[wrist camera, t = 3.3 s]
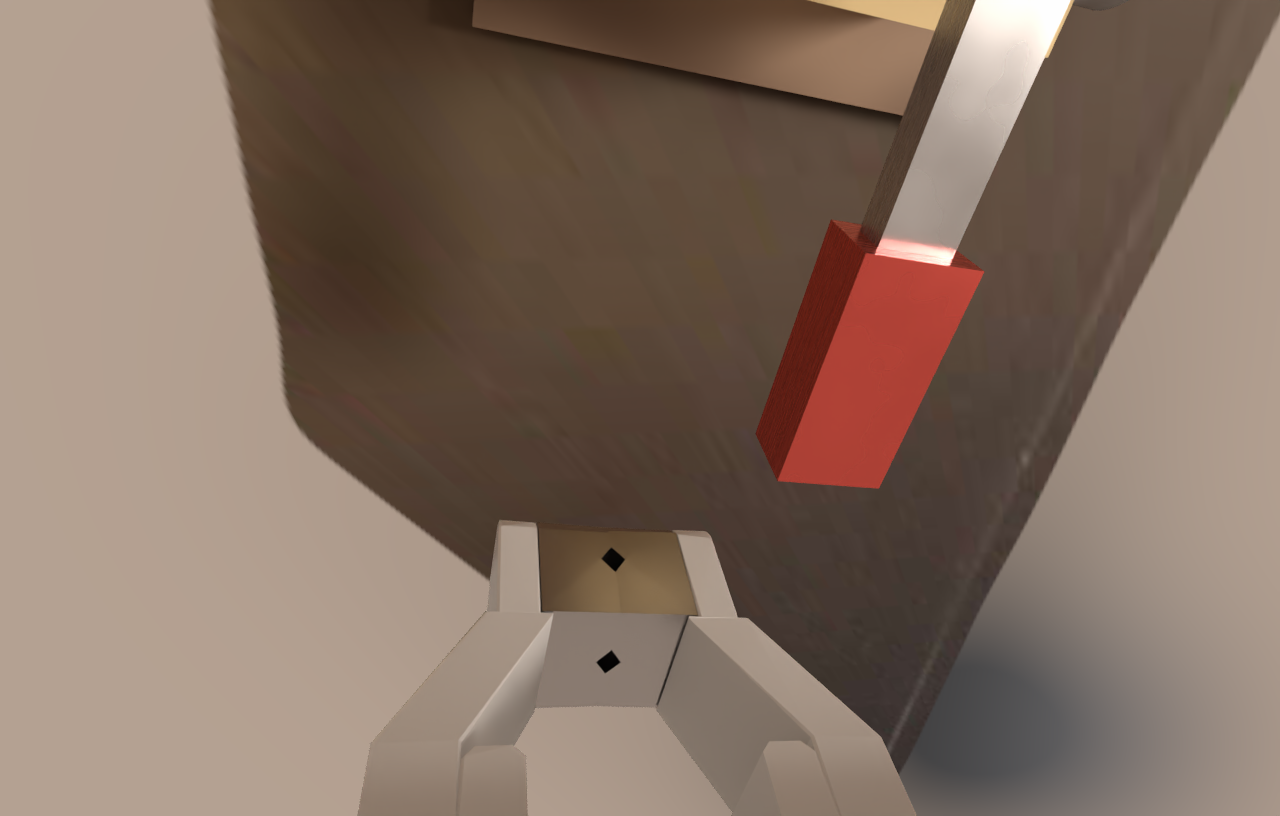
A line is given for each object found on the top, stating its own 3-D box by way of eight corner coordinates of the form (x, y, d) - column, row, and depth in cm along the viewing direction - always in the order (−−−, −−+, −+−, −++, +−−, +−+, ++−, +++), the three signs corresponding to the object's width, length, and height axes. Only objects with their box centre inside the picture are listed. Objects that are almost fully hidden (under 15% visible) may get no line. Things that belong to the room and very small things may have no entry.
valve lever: (1027, -374, 11) (1114, -424, 10) (1191, -310, 12) (1297, -345, 10) (748, 432, 20) (770, 480, 18) (855, 442, 20) (885, 489, 19)
